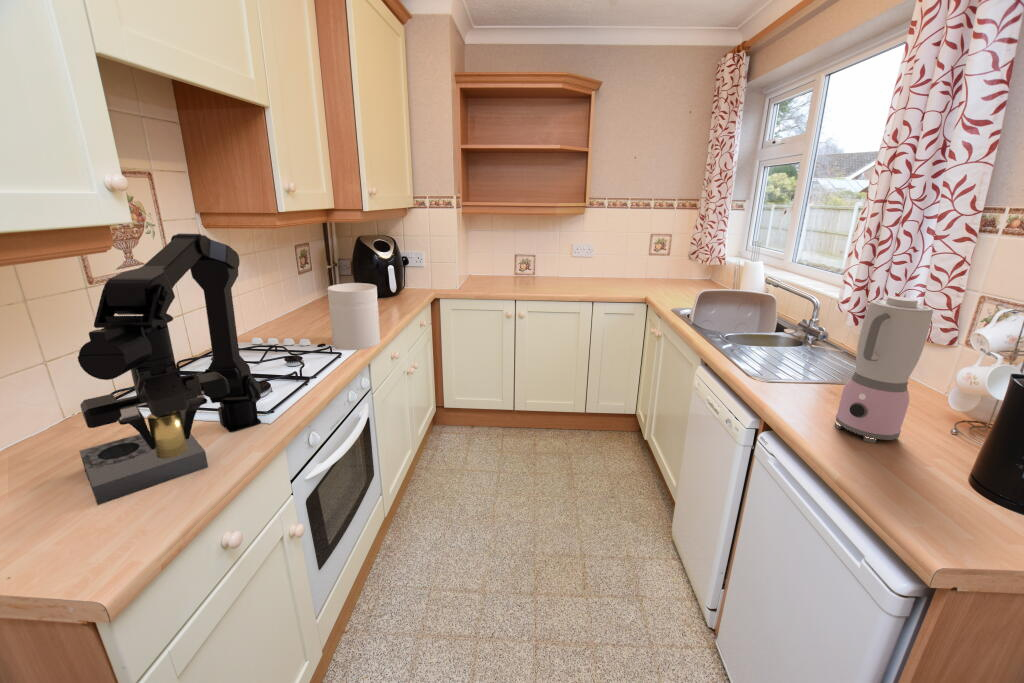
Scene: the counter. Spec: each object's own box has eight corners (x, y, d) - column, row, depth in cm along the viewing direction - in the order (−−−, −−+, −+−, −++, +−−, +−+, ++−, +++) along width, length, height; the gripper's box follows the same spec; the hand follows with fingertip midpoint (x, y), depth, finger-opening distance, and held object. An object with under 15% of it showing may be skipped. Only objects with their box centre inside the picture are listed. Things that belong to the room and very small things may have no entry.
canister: (322, 346, 158) (316, 289, 152) (351, 334, 173) (347, 281, 167) (362, 352, 153) (357, 293, 147) (388, 339, 168) (385, 285, 162)
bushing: (183, 442, 81) (176, 405, 79) (191, 451, 78) (183, 413, 76) (153, 451, 78) (144, 413, 76) (159, 461, 75) (150, 422, 73)
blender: (851, 415, 116) (885, 291, 107) (908, 437, 106) (951, 302, 97) (814, 428, 109) (847, 296, 100) (872, 452, 99) (914, 308, 90)
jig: (184, 437, 98) (181, 422, 96) (208, 467, 87) (205, 450, 86) (83, 467, 86) (79, 450, 85) (97, 505, 76) (92, 487, 75)
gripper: (78, 386, 61) (106, 487, 66) (234, 355, 74) (247, 440, 79) (68, 365, 68) (94, 457, 73) (212, 340, 81) (226, 419, 86)
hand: (170, 443), depth 77 cm, fingers closed on bushing, 4 cm apart
